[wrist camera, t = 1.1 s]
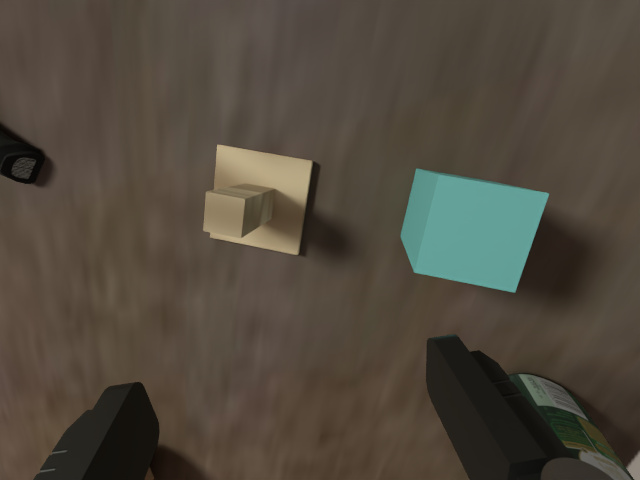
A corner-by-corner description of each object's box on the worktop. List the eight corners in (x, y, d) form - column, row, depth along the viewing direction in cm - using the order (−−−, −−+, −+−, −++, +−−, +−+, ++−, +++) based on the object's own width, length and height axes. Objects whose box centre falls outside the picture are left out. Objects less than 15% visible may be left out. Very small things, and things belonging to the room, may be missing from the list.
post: (220, 144, 28) (168, 141, 21) (313, 161, 27) (292, 162, 20) (213, 235, 30) (163, 261, 23) (299, 253, 30) (275, 284, 22)
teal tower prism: (416, 168, 26) (439, 174, 18) (489, 180, 26) (549, 193, 17) (400, 236, 28) (414, 272, 19) (469, 249, 27) (515, 292, 19)
